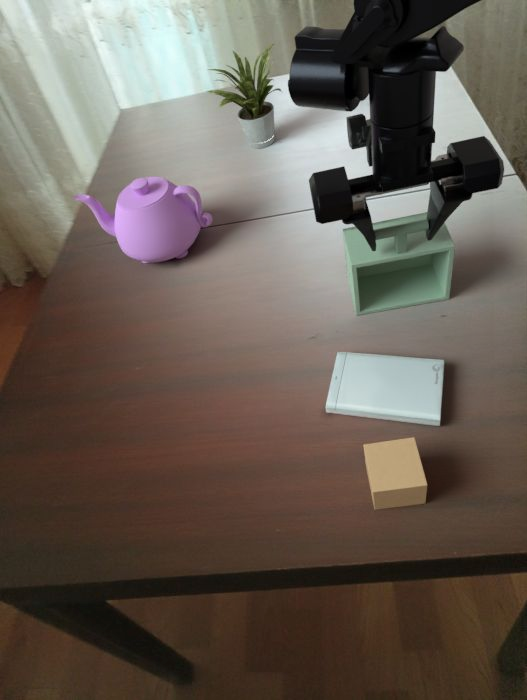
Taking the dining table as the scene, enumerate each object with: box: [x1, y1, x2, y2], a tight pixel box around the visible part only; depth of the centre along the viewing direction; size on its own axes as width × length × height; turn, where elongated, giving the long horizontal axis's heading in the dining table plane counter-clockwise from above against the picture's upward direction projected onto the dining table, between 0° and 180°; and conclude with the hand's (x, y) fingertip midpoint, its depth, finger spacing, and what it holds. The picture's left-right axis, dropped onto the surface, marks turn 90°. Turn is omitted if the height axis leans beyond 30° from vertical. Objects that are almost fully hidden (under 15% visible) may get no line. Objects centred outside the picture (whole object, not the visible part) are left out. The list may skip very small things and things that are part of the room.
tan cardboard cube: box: [363, 436, 428, 511], centre depth 49 cm, size 5×5×4 cm
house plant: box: [206, 43, 283, 150], centre depth 93 cm, size 14×14×16 cm
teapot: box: [73, 176, 213, 264], centre depth 80 cm, size 20×14×12 cm
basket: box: [342, 211, 456, 317], centre depth 62 cm, size 13×12×7 cm
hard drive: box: [325, 351, 445, 427], centre depth 57 cm, size 2×8×12 cm
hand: (401, 243), depth 58 cm, fingers closed on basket, 6 cm apart
